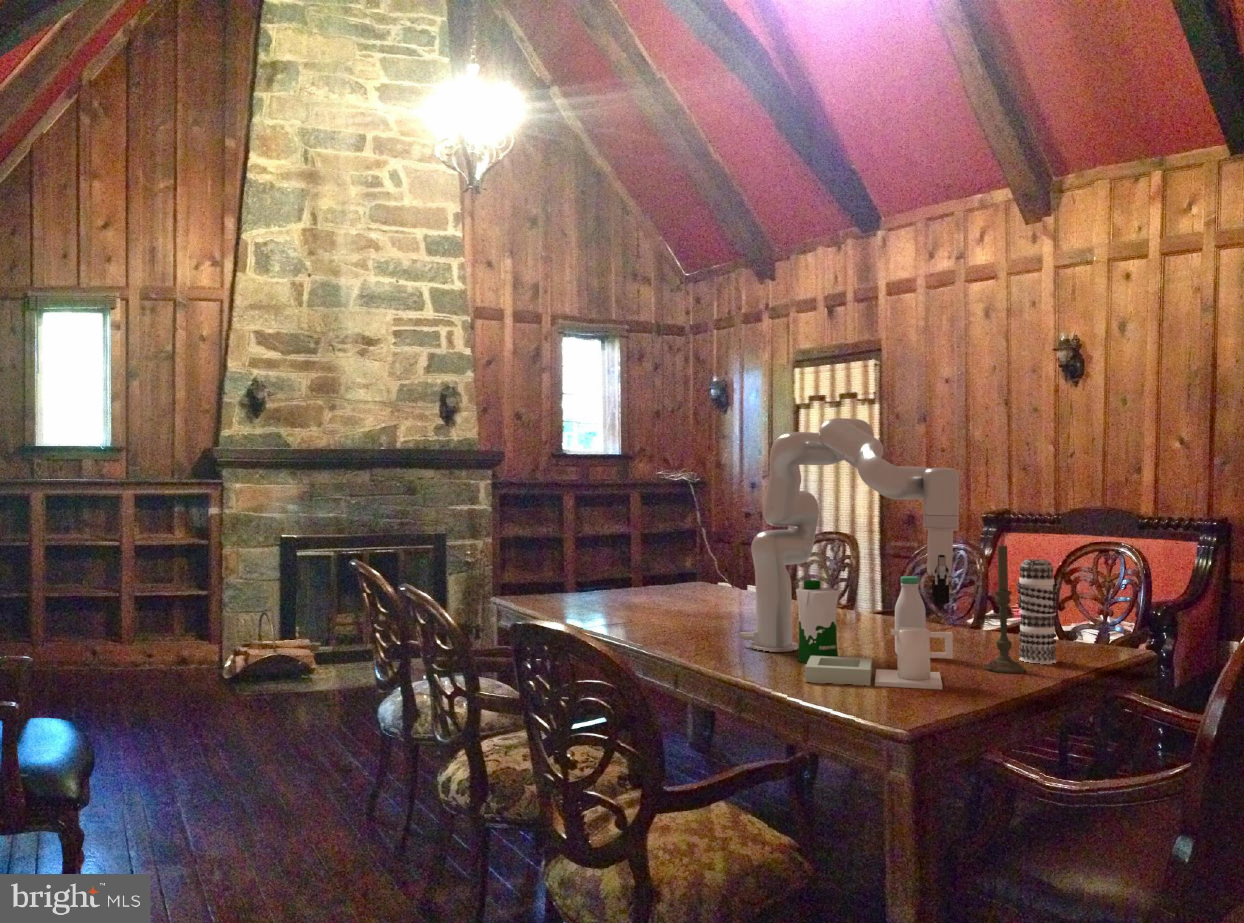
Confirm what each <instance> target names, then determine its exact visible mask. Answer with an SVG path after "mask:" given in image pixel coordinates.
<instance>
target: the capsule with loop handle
mask: <svg viewBox="0 0 1244 923" xmlns="http://www.w3.org/2000/svg"><path fill="white" fill-rule="evenodd" d="M895 635H897V654H896V655H897V656H896V657H897V662H896V663H897V670H898V677H899V678H903V679H909V680H926V679H930V678H931V677H930V672H931V659H952V660H953V659H954V655H953V654H954V653H953V652H954V646H953V645H954V644H953V640H954V639H953V632H952V631H931V630H930V629H928V628H926V629H925V628H915V627H904V628H898V629H895V628H891V629H890V636H895ZM931 638H938V639H939V638H940V639H944V652H940V651H938V652H937V651H936V652H935V651H931V644H930V641H931Z"/></svg>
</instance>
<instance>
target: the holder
mask: <svg viewBox="0 0 1244 923" xmlns="http://www.w3.org/2000/svg"><path fill="white" fill-rule="evenodd" d="M872 660H873V659H872V657H852V656H851V657H850V656H838V657H833V656H810V658H809V660H808V662H807V664H806V663H805V666H804V669H805V670H804V672H805V674H804V678H805V679H804V680H805V682H810V683H809V684H825V683H833V684H832V685H844V684H853V685H852V686H864V685H866V686H869V687H870V686H871V684H872V674H873V669H872V668H873V662H872ZM805 682H804V683H805ZM866 686H865V687H866Z"/></svg>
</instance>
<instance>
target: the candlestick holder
mask: <svg viewBox="0 0 1244 923" xmlns="http://www.w3.org/2000/svg"><path fill="white" fill-rule="evenodd" d="M1000 544H1001V545H999V544H998V545H997V590H996V589H995V590H994V594H995V595H996V598H995V603H997V604H998V605H999V613H998V618H999V625H1000V627H999V630H1000V636H999V638H998V640H996V641H995V645H996V647H997V649H998V650H999V655H998V656H997V657H996V658H995V659H992V660H991V661H989V662H988V663H986V664H984V665H983V670H986V671H988V672H990V673H991V672H992V673H998V674H1021V673H1020V672H1022V673H1024V672H1025V671H1026V668H1025V666H1023V665H1021V664H1020V663H1019V662H1017V660H1014V659H1012V658H1011V657H1010V655H1009V651H1010V650H1012V649H1011V648H1012V645H1013V643H1012V641H1010V640H1009V637H1008V635H1007V632H1008V627H1007V626H1008V619H1009V614H1008V612H1009V611H1008V607H1007V606H1008V605H1009V604H1011V602H1012V601H1011V598H1010V596H1011V595H1012V593H1013V592H1012V590H1009V571H1008V569H1009V568H1008V567H1009V566H1008V565H1009V564H1008V545H1006V544H1004V545H1003V543H1002V542H1000Z"/></svg>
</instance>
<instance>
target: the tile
mask: <svg viewBox="0 0 1244 923" xmlns="http://www.w3.org/2000/svg"><path fill="white" fill-rule="evenodd" d="M930 677H931V678H930V679H926V680H909V679H903V678H899V677H898V669H879V668H877V669H875V676H874V687H883V688H885V687H887V688H888V687H889V688H907V689H926V690H943V681H942V678H941V673H940V671H930Z"/></svg>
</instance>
